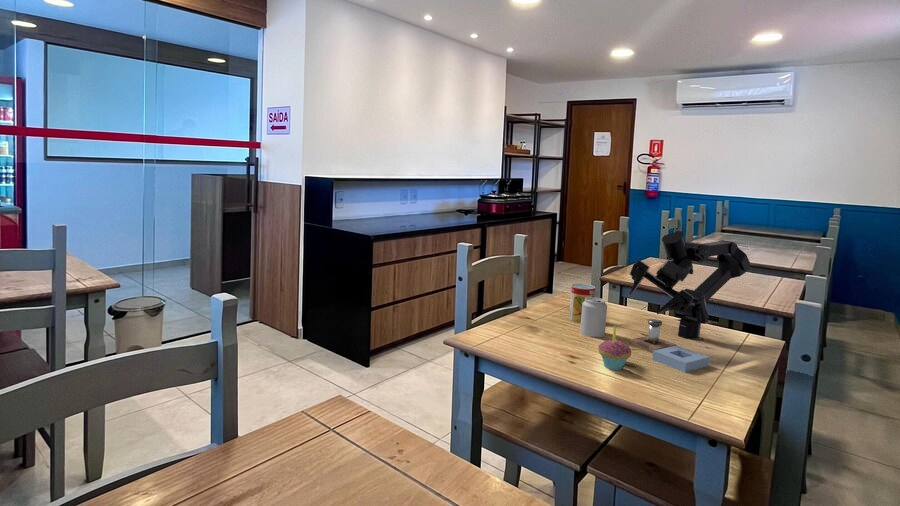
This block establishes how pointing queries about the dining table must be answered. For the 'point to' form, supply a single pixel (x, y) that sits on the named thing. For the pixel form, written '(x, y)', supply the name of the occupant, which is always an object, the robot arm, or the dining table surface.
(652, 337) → the lock pin
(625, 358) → the cupcake
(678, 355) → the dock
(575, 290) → the canned food
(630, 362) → the dining table surface
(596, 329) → the can
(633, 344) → the mount
